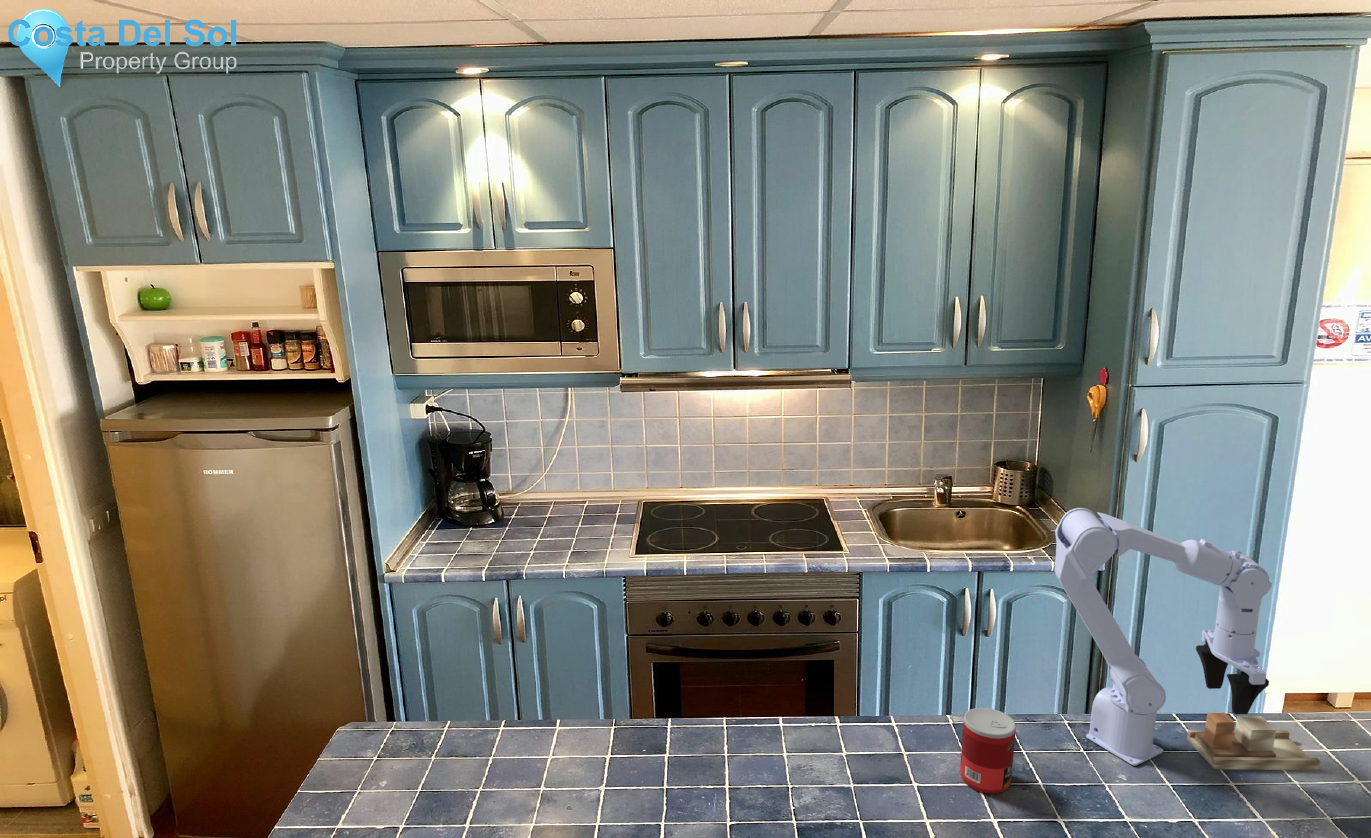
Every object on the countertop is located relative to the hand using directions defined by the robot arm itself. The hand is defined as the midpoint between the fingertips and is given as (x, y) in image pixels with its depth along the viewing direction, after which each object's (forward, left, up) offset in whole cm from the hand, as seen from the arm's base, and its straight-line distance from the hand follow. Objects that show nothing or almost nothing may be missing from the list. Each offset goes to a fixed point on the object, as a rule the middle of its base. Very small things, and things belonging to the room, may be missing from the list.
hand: (1226, 700), depth 143 cm
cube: (+3, +5, -8) cm, 10 cm away
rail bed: (+3, +5, -10) cm, 12 cm away
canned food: (-15, -40, -11) cm, 44 cm away
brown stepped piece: (+1, +2, -9) cm, 10 cm away
